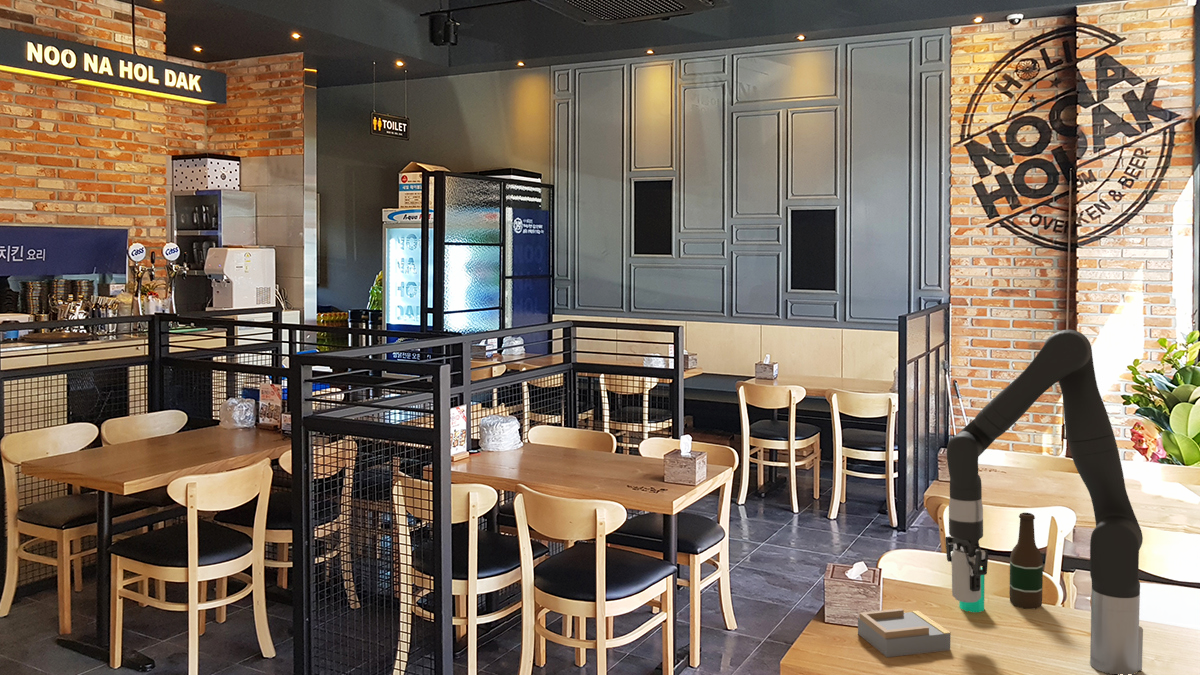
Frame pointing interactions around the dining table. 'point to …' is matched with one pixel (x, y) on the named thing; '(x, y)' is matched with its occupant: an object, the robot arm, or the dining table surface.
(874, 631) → the dock
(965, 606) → the candle
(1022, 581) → the beer bottle
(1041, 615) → the dining table surface
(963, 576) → the beverage can
